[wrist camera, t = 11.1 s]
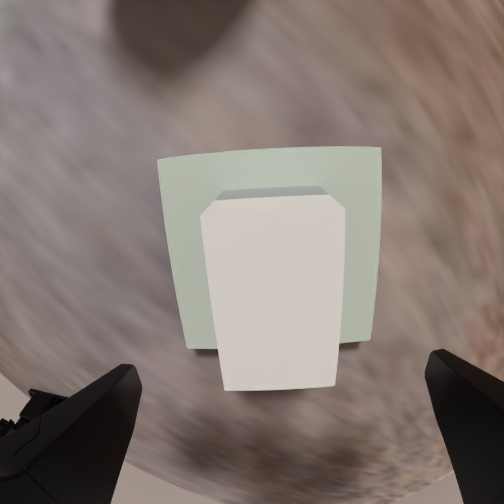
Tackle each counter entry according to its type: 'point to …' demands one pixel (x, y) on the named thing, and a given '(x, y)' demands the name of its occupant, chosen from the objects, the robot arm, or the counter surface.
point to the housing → (275, 285)
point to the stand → (264, 176)
